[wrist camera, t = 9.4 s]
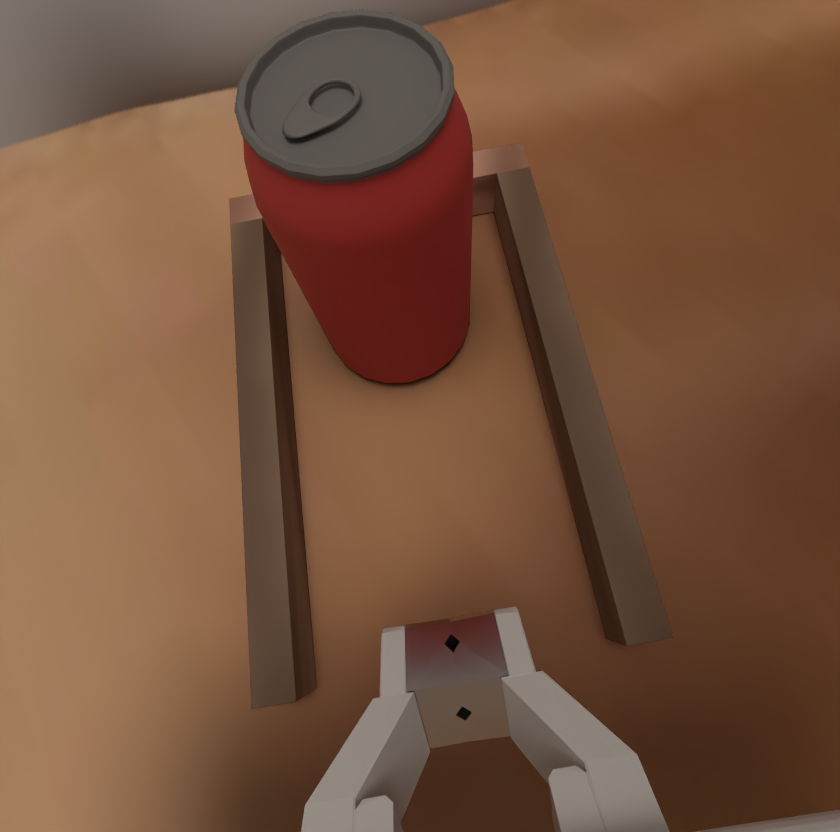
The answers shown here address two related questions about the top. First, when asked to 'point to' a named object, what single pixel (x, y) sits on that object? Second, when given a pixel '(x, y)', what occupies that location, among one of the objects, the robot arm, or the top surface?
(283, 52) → the beer can
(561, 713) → the robot arm
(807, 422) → the top surface
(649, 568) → the walnut channel
